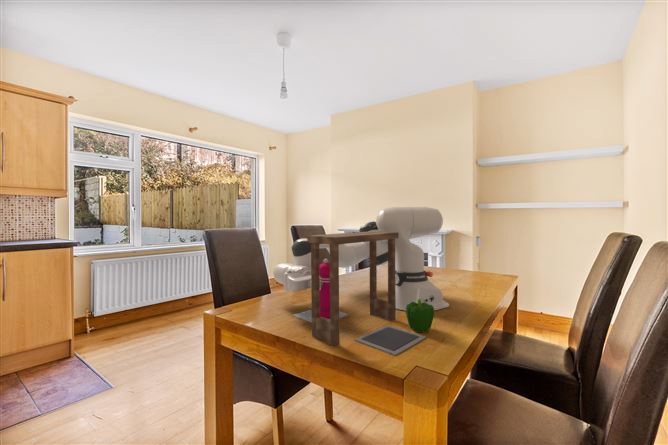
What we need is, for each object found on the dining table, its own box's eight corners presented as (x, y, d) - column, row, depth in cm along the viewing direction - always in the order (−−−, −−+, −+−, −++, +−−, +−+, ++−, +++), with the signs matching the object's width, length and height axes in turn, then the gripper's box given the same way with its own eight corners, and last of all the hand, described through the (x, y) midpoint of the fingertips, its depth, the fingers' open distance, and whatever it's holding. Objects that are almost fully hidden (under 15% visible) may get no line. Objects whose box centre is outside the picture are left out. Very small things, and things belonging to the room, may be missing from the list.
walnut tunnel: (308, 335, 91) (307, 235, 90) (371, 312, 112) (370, 231, 112) (336, 347, 83) (336, 237, 82) (398, 320, 104) (398, 232, 103)
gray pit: (354, 340, 88) (354, 338, 88) (386, 325, 99) (386, 324, 99) (395, 355, 78) (395, 354, 78) (426, 337, 89) (426, 336, 89)
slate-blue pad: (293, 315, 110) (293, 314, 110) (322, 307, 119) (322, 306, 119) (319, 325, 100) (319, 324, 100) (348, 315, 109) (348, 314, 109)
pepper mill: (334, 319, 103) (334, 260, 102) (313, 318, 104) (313, 259, 104) (338, 312, 110) (338, 257, 109) (319, 311, 111) (318, 256, 111)
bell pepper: (413, 322, 101) (412, 293, 101) (437, 328, 96) (437, 297, 96) (401, 330, 95) (401, 298, 95) (426, 337, 90) (426, 303, 89)
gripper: (322, 281, 123) (348, 287, 114) (280, 291, 109) (305, 298, 99) (322, 265, 123) (347, 270, 113) (280, 273, 109) (305, 279, 99)
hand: (327, 283), depth 106 cm, fingers closed on pepper mill, 5 cm apart
